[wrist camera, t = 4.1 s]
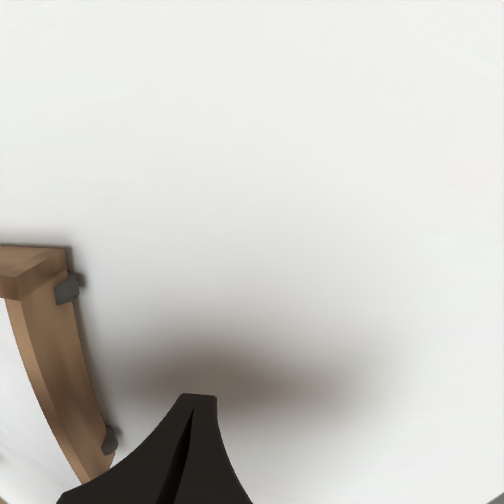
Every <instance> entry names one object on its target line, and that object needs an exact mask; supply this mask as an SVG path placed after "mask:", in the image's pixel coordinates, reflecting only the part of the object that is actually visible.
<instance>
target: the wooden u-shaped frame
mask: <svg viewBox="0 0 504 504" xmlns="http://www.w3.org/2000/svg"><path fill="white" fill-rule="evenodd" d="M78 296H79V288H78V281H77V276H76V274H74V273H71V272H67V265H66V257H65V249H55V248H36V247H17V246H0V298H4V299H5V303H6V307H7V311H8V315H9V319H10V323H11V326H12V330H13V333H14V336H15V340H16V343H17V346H18V349H19V352H20V355H21V358H22V361H23V364H24V367H25V369H26V372H27V375H28V378H29V380H30V383H31V385H32V388H33V390H34V393H35V395H36V397H37V400H38V402H39V404H40V407H41V409H42V411H43V413H44V416H45V418H46V420H47V422H48V424H49V426H50V428H51V430H52V432H53V434H54V436H55V438H56V440H57V442H58V444H59V446H60V448H61V449H62V451H63V453H64V455H65V457H66V459H67V460H68V462H69V464H70V465H71V467H72V469H73V471H74V472H75V474H76V476H77V477H78V479H79V480H80V482H81V484H82V485H83V484H85V483H87V482H89V481H91V480H92V479H94V478H96V477H98V476H99V475H101V474H103V473H104V472H106V471H108V470H109V468H110V466H111V463H112V461H113V458H114V456H115V450H116V449H117V446H118V442H117V439H116V436H115V433H114V431H113V430H112V429H111V428H110V427H108V426H105V424H104V422H103V419H102V416H101V413H100V410H99V407H98V404H97V401H96V397H95V394H94V391H93V388H92V384H91V381H90V377H89V374H88V370H87V366H86V363H85V359H84V355H83V351H82V347H81V342H80V338H79V334H78V329H77V324H76V319H75V314H74V309H73V304H72V301H73V300H74V299H76V298H77V297H78Z"/></svg>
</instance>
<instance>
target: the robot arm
mask: <svg viewBox="0 0 504 504" xmlns="http://www.w3.org/2000/svg"><path fill="white" fill-rule="evenodd" d="M56 504H253V503H252V502H251V500H250V498H249V497H248V495H247V494H246V492H245V490H244V489H243V487H242V485H241V484H240V482H239V480H238V478H237V476H236V474H235V472H234V470H233V468H232V465H231V463H230V461H229V458H228V456H227V453H226V450H225V447H224V444H223V441H222V438H221V434H220V430H219V426H218V421H217V398H216V397H215V396H209V395H198V394H187V393H182V394H181V395H180V396H179V397H178V399H177V401H176V402H175V404H174V405H173V407H172V408H171V409H170V411H169V412H168V413H167V415H166V416H165V417H164V419H163V420H162V421H161V422H160V424H159V425H158V426H157V427H156V428H155V429H154V431H153V432H152V433H151V434H150V435H149V436H148V437H147V438H146V439H145V440H144V441H143V442H142V443H141V444H140V445H139V446H138V447H137V448H136V449H135V450H134V451H133V452H131V453H130V454H129V455H128V456H127V457H126V458H124V459H123V460H122V461H120V462H119V463H118V464H116V465H115V466H114V467H112V468H111V469H109V470H108V471H106V472H104V473H103V474H101V475H99V476H98V477H96V478H94V479H92V480H91V481H89V482H87V483H85V484H83V485H80V486H78V487H76V488H74V489H71V490H69V491H66V492H64V493H62V495H61V497H60V498H59V499H58V501H57V503H56Z"/></svg>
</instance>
